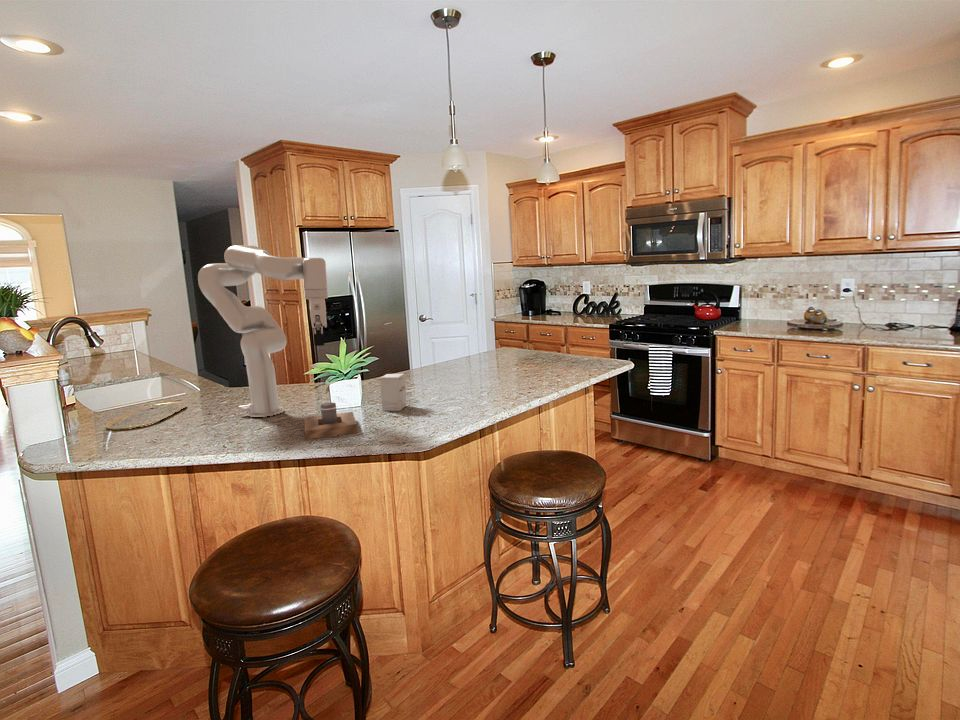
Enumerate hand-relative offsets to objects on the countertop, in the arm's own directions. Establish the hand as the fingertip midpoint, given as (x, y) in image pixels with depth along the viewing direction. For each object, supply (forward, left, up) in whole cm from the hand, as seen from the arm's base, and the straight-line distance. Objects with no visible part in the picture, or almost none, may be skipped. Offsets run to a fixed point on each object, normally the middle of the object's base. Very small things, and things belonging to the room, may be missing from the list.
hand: (319, 343), depth 186 cm
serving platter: (-65, +35, -28) cm, 79 cm away
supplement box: (+24, +1, -27) cm, 37 cm away
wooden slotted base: (+1, -16, -27) cm, 31 cm away
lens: (0, -16, -26) cm, 31 cm away
